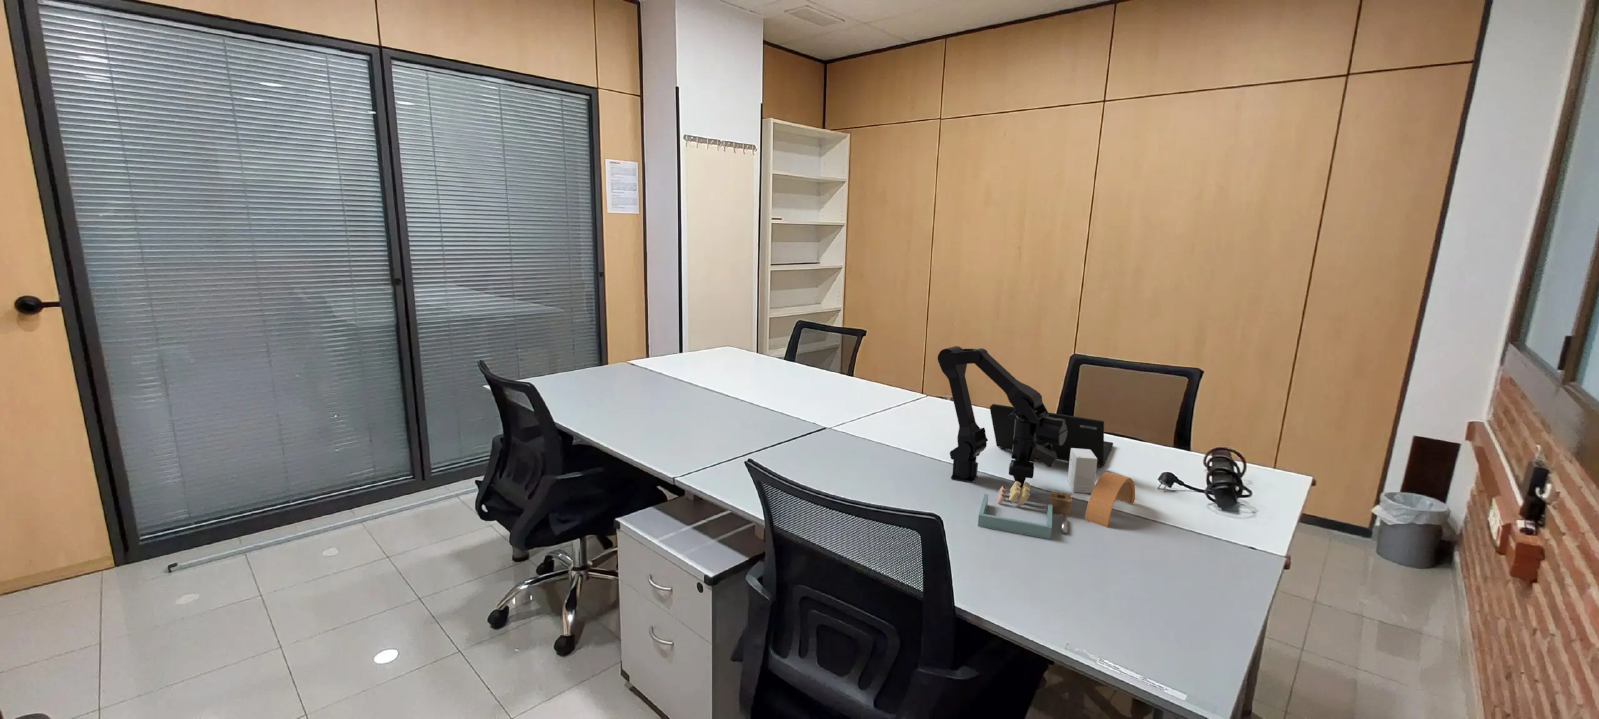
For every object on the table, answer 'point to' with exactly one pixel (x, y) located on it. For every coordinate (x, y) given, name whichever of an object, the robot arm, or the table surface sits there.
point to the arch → (1108, 497)
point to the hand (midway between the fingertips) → (1019, 489)
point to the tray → (1015, 523)
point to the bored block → (1060, 503)
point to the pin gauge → (1063, 524)
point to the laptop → (1078, 436)
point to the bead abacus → (1015, 493)
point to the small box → (1082, 470)
